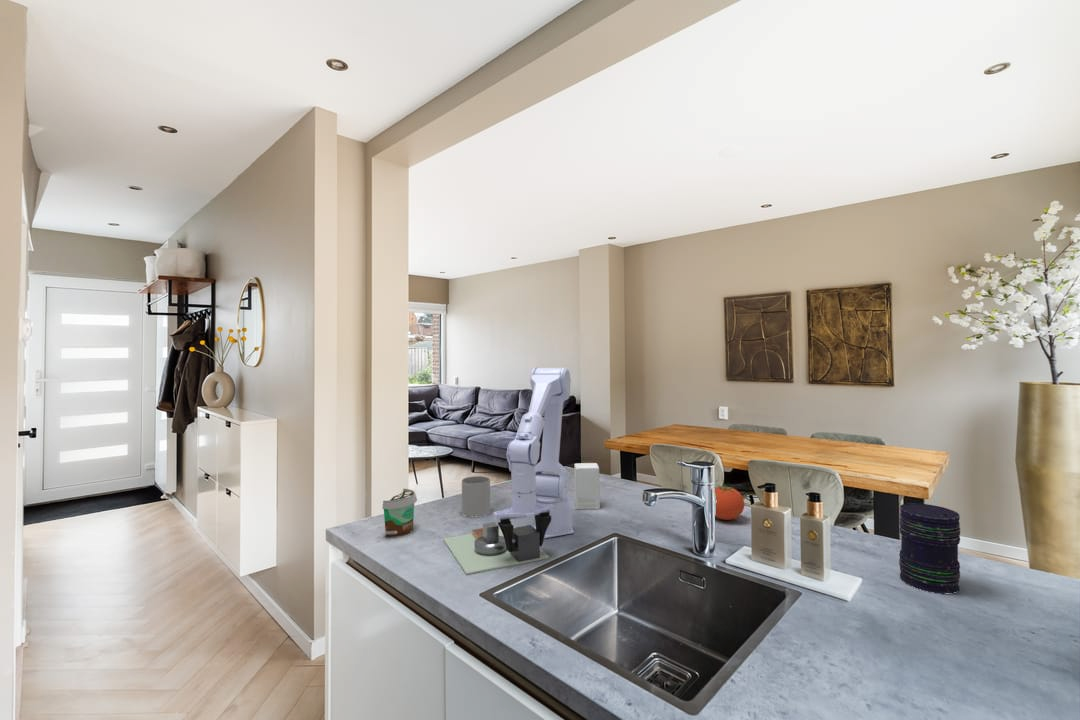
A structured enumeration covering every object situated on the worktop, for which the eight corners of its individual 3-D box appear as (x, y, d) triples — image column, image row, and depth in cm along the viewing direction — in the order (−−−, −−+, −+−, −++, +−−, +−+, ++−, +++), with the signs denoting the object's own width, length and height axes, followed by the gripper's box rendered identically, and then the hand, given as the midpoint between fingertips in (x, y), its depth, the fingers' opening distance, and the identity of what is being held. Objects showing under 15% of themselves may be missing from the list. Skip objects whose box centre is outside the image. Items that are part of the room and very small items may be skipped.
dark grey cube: (530, 549, 122) (530, 524, 122) (539, 557, 117) (539, 532, 117) (510, 553, 120) (509, 528, 120) (518, 562, 115) (517, 536, 115)
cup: (475, 506, 157) (475, 474, 156) (495, 511, 152) (495, 478, 152) (456, 514, 150) (455, 481, 150) (476, 519, 145) (476, 485, 145)
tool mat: (515, 527, 138) (515, 526, 138) (549, 558, 118) (549, 556, 118) (443, 540, 130) (443, 538, 130) (466, 575, 109) (466, 573, 109)
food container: (404, 540, 130) (403, 502, 129) (383, 539, 131) (382, 501, 131) (425, 524, 142) (424, 488, 142) (404, 522, 143) (404, 488, 143)
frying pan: (512, 552, 120) (511, 527, 120) (480, 558, 117) (479, 533, 117) (491, 531, 134) (491, 508, 134) (462, 536, 131) (462, 513, 131)
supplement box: (600, 509, 152) (599, 468, 152) (575, 509, 152) (575, 468, 152) (597, 501, 160) (597, 462, 159) (574, 502, 160) (573, 462, 159)
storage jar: (888, 577, 106) (888, 507, 105) (917, 568, 109) (917, 500, 109) (941, 598, 96) (942, 521, 96) (971, 588, 100) (971, 514, 100)
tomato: (750, 525, 137) (750, 489, 137) (712, 525, 137) (712, 489, 137) (736, 512, 147) (736, 479, 147) (701, 513, 147) (701, 479, 147)
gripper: (500, 499, 111) (501, 559, 112) (558, 490, 117) (559, 548, 118) (490, 491, 118) (491, 548, 118) (546, 483, 124) (547, 537, 124)
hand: (524, 547), depth 118 cm, fingers open, 7 cm apart
